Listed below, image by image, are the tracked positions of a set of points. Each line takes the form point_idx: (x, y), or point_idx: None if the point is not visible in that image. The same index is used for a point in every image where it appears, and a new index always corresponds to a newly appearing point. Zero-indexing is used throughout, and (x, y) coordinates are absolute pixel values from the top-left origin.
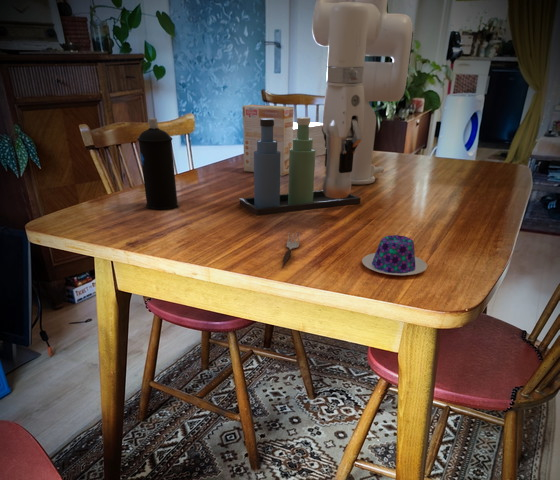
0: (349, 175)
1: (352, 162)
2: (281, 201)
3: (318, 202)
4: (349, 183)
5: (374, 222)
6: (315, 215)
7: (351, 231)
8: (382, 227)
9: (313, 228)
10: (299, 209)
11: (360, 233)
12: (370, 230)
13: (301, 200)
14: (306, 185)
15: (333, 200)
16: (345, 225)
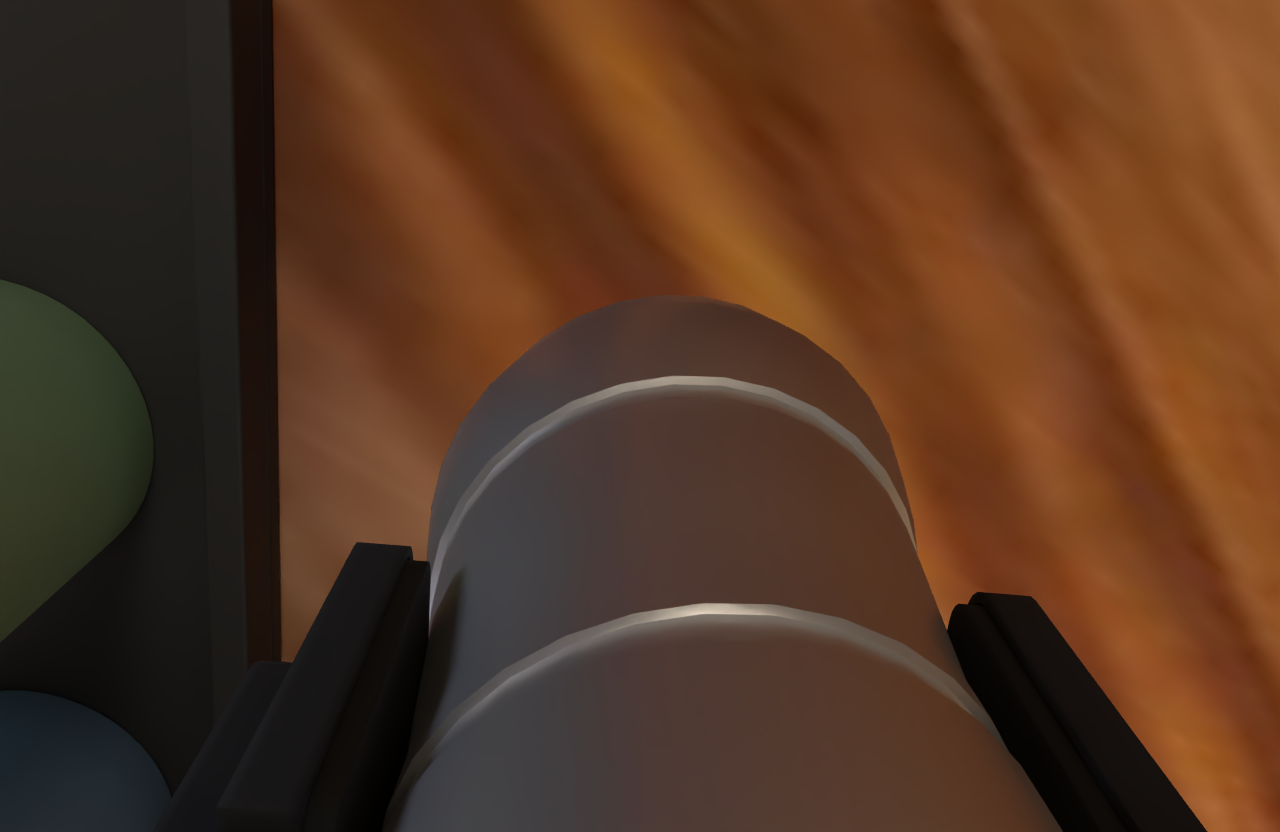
0: (905, 527)
1: (1110, 710)
2: None
3: (236, 372)
4: (902, 479)
5: (1012, 23)
6: (426, 470)
7: (1097, 479)
8: (1214, 79)
9: None
10: (266, 596)
11: (1202, 442)
12: (1200, 284)
13: (105, 533)
14: (10, 570)
15: (213, 120)
16: (905, 408)
